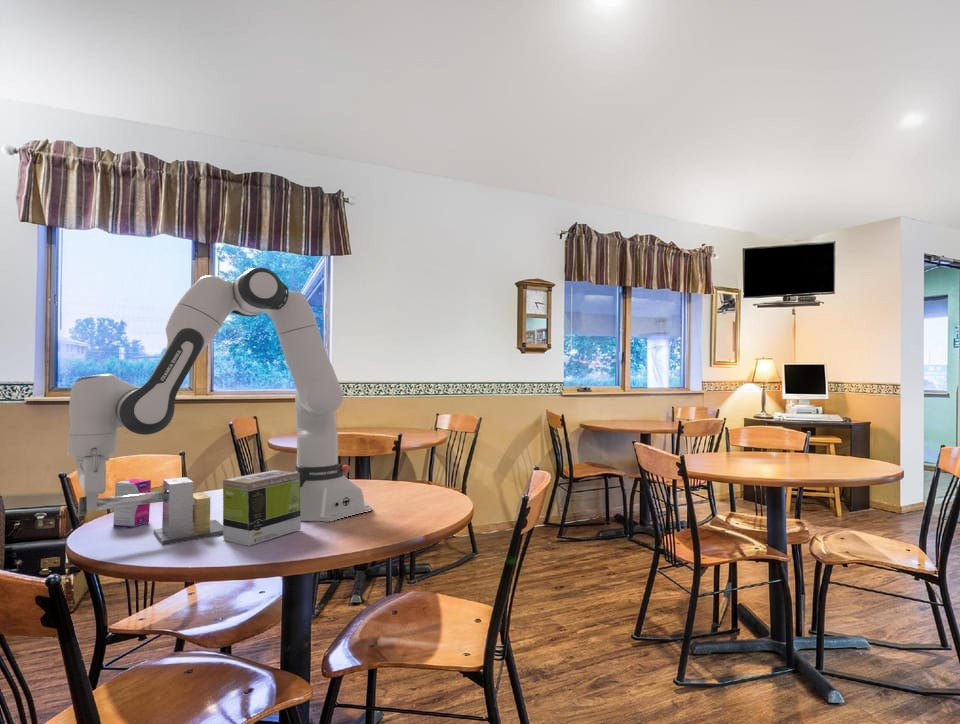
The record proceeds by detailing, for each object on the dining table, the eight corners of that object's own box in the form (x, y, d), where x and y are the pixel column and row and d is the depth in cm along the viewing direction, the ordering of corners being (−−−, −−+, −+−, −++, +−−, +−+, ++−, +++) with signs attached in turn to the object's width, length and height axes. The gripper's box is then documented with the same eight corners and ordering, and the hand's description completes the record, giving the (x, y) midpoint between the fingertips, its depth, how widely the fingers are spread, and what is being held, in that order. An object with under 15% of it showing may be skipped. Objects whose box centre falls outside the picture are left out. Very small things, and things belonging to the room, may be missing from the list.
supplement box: (131, 528, 133) (133, 483, 133) (112, 527, 134) (113, 482, 134) (150, 522, 138) (151, 479, 139) (131, 521, 140) (132, 478, 140)
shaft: (176, 501, 128) (176, 484, 128) (179, 504, 125) (180, 487, 125) (78, 514, 116) (78, 496, 116) (79, 517, 113) (79, 499, 113)
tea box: (275, 525, 136) (275, 468, 136) (301, 531, 131) (302, 472, 131) (221, 540, 123) (222, 477, 123) (247, 547, 118) (248, 481, 118)
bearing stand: (215, 523, 137) (216, 472, 138) (228, 533, 128) (229, 479, 129) (153, 533, 128) (154, 479, 129) (162, 545, 119) (163, 486, 120)
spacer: (202, 523, 133) (202, 492, 134) (210, 530, 127) (210, 497, 128) (189, 525, 132) (189, 494, 132) (196, 532, 125) (196, 499, 126)
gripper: (115, 449, 110) (113, 515, 110) (105, 441, 126) (103, 498, 125) (77, 452, 106) (75, 520, 106) (72, 443, 122) (70, 502, 121)
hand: (90, 508), depth 116 cm, fingers closed on shaft, 2 cm apart
